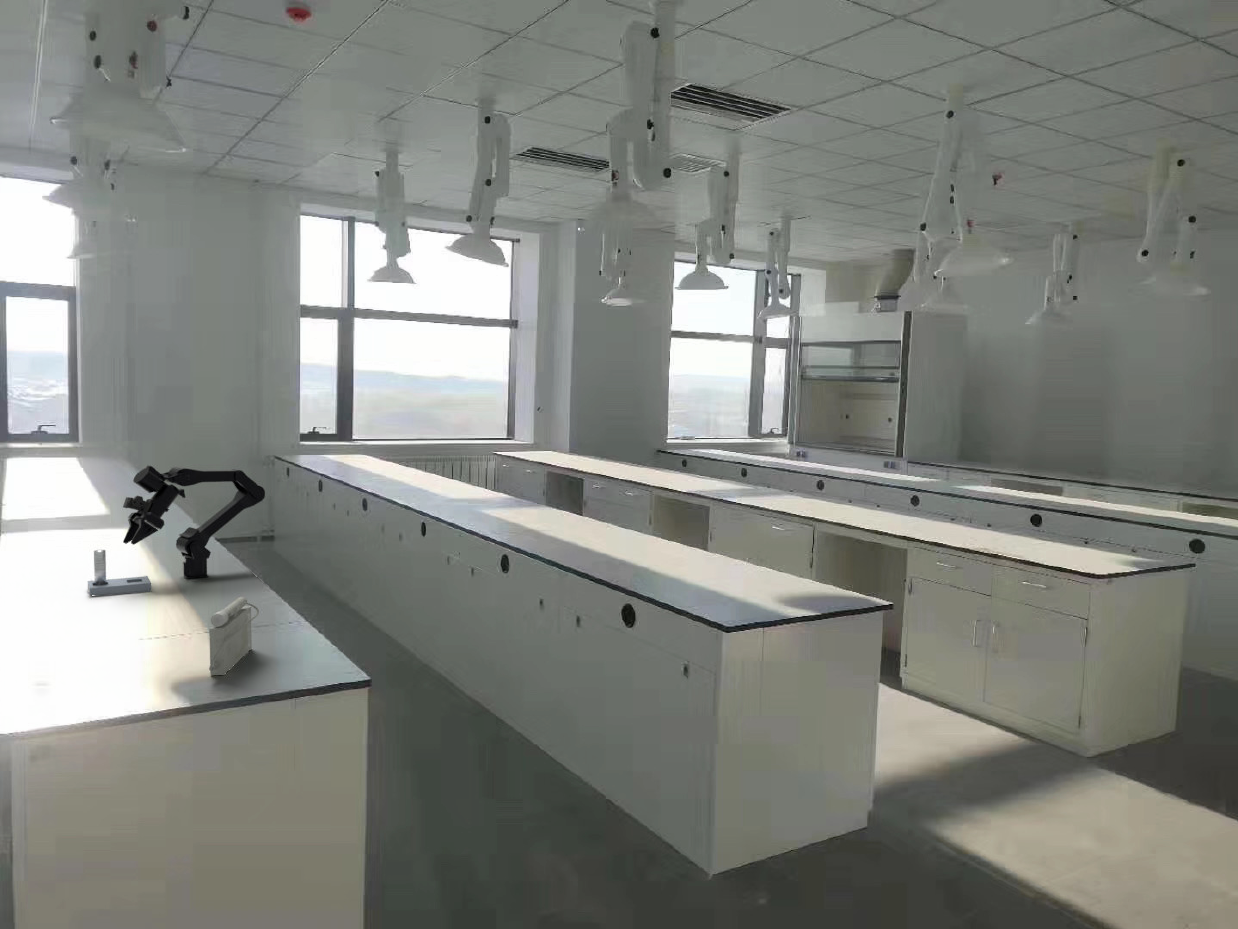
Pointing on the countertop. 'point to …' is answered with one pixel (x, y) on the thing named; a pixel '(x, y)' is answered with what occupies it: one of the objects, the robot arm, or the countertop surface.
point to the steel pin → (100, 567)
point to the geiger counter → (230, 636)
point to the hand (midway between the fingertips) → (128, 543)
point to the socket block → (120, 586)
